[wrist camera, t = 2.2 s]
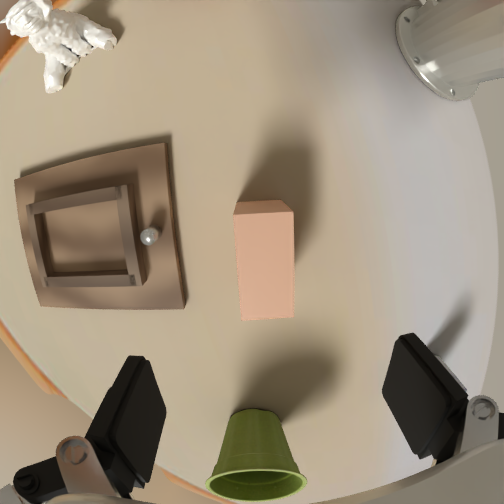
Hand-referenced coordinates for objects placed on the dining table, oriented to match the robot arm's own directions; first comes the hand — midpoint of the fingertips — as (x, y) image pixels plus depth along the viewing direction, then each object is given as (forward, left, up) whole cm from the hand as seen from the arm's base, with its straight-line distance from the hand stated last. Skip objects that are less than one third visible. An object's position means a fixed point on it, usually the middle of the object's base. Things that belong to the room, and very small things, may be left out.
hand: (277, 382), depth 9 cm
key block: (0, 0, -18) cm, 18 cm away
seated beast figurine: (-24, -19, -18) cm, 36 cm away
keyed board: (-2, -18, -18) cm, 25 cm away
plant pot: (+26, -2, -18) cm, 31 cm away
